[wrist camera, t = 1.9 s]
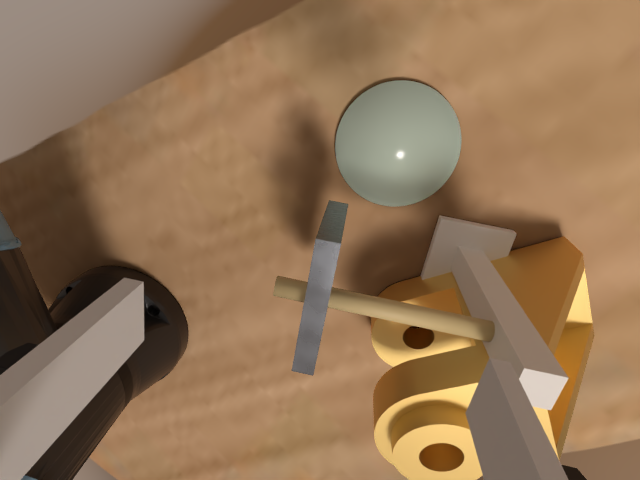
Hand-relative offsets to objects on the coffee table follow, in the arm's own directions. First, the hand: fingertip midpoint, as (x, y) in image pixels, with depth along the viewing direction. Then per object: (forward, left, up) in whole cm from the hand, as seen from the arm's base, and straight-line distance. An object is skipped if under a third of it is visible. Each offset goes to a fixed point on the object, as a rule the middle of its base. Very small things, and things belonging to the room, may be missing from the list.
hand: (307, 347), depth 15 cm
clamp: (+15, -10, -24) cm, 30 cm away
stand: (+7, -4, -24) cm, 25 cm away
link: (0, -4, -17) cm, 17 cm away
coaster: (+4, +5, -24) cm, 25 cm away
